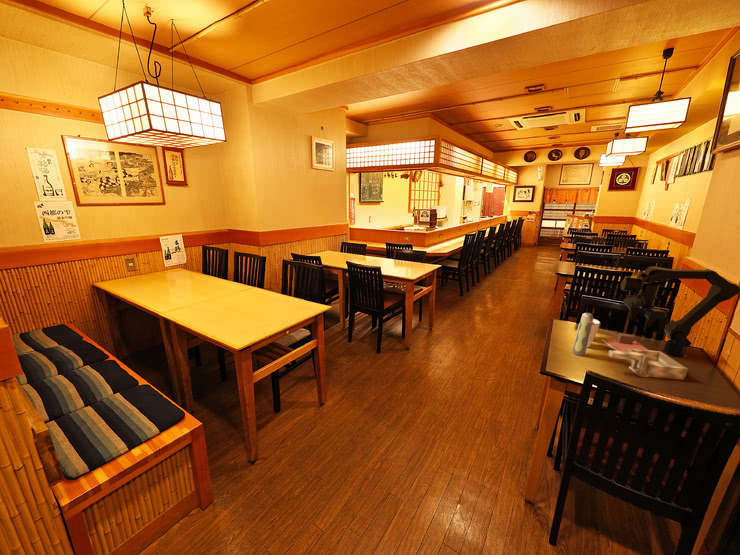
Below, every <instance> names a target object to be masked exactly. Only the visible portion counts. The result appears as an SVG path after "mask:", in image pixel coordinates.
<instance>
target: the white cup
mask: <svg viewBox="0 0 740 555" xmlns="http://www.w3.org/2000/svg"><path fill="white" fill-rule="evenodd" d="M592 322H594V323H595V330H594V334H593V338H592V341H591V342H593V341H594V340H595V338H596V336H597V333H598V329H599V327H600V324H601V322H600V321H599V320H598V319H595V318H593V321H592Z"/></svg>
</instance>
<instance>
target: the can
mask: <svg viewBox="0 0 740 555" xmlns="http://www.w3.org/2000/svg"><path fill="white" fill-rule="evenodd" d="M579 325H580V322H579V323H578V326H577V331H576V335H575V339H576V336H577V332H578V328H579ZM594 330H595V323H594V322H593V323H592V327H591V331H590V335H589V339H588V343H587V348H590V347H591V344H592V342H593V341H592V338H593V334H594ZM575 339H574V340H575Z"/></svg>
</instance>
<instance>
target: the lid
mask: <svg viewBox="0 0 740 555" xmlns="http://www.w3.org/2000/svg"><path fill="white" fill-rule="evenodd" d="M634 339H635V336H634V335H632V334H627V333H617V335H616V339H610V338H605V339H604V340H605V341H606V342H608V343H609V344H610V345H612V346H613V347H614V348H616V349H617V350H618V351H625V352H626V349H637V350H649V349H648V348H646V347H645V346H643V345H642V344H640V343H639V342H637V341H636V340H635V341H634Z"/></svg>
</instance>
